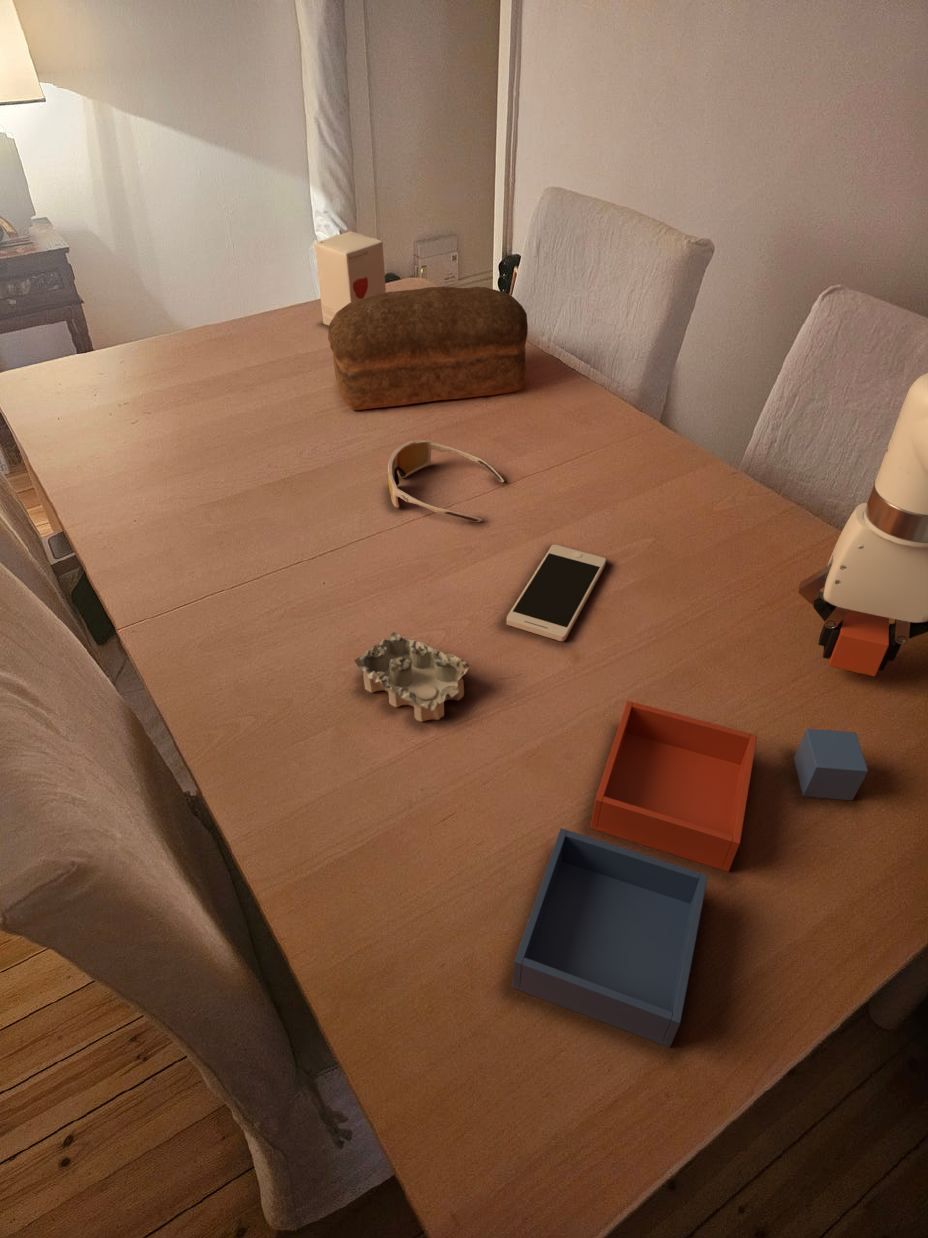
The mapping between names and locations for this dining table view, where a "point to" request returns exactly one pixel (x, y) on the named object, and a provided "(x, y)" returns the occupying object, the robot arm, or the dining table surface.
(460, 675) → the egg carton
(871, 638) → the terracotta block
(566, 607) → the smartphone
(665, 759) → the terracotta bin
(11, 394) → the dining table surface
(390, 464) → the sunglasses
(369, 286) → the white product box
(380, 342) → the bread
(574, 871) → the blue bin
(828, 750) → the blue block
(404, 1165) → the dining table surface
